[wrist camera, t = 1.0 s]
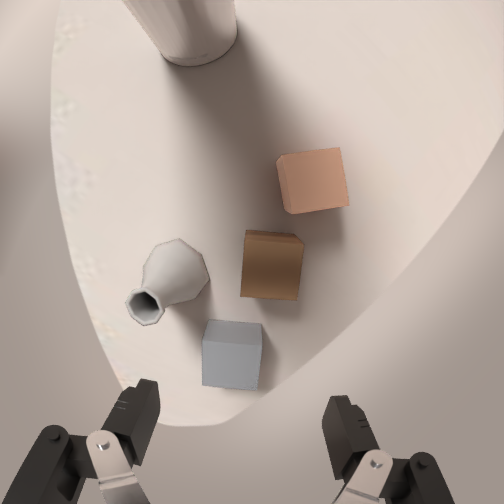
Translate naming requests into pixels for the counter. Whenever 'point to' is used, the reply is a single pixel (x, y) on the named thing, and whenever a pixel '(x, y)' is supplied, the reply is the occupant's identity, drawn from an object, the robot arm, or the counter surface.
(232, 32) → the robot arm
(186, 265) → the flask
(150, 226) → the counter surface
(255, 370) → the grey base block
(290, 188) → the terracotta cube
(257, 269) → the walnut cube
